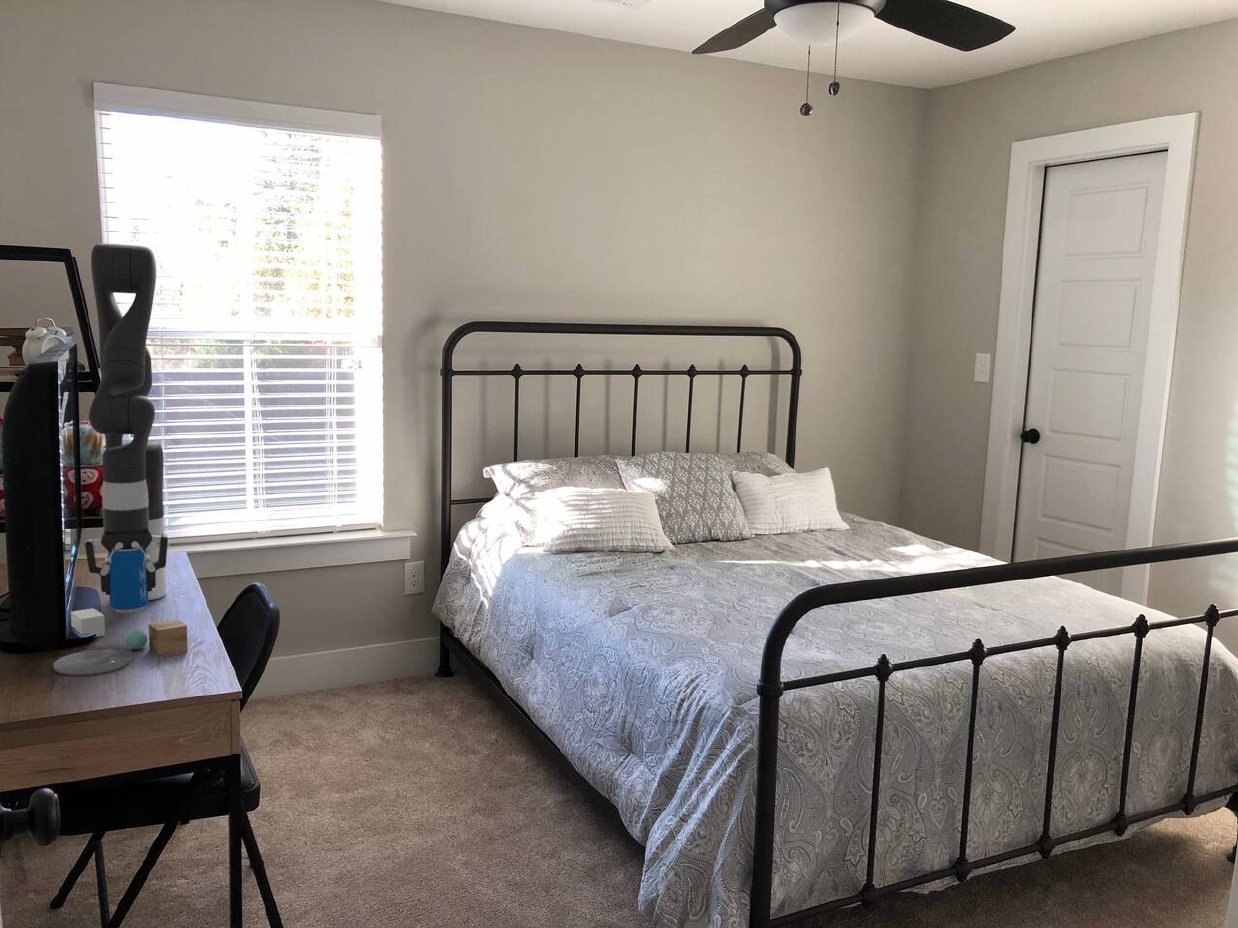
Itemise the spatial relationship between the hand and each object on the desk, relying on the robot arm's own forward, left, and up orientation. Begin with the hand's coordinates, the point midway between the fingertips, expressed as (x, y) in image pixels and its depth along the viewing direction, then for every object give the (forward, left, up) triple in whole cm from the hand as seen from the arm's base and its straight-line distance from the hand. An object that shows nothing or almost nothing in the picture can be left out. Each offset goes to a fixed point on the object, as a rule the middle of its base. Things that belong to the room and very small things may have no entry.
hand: (128, 591), depth 187 cm
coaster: (+13, -6, -9) cm, 17 cm away
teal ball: (+7, +1, -7) cm, 10 cm away
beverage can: (0, 0, -3) cm, 3 cm away
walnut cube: (+10, +6, -9) cm, 15 cm away
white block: (-6, -7, -9) cm, 13 cm away
